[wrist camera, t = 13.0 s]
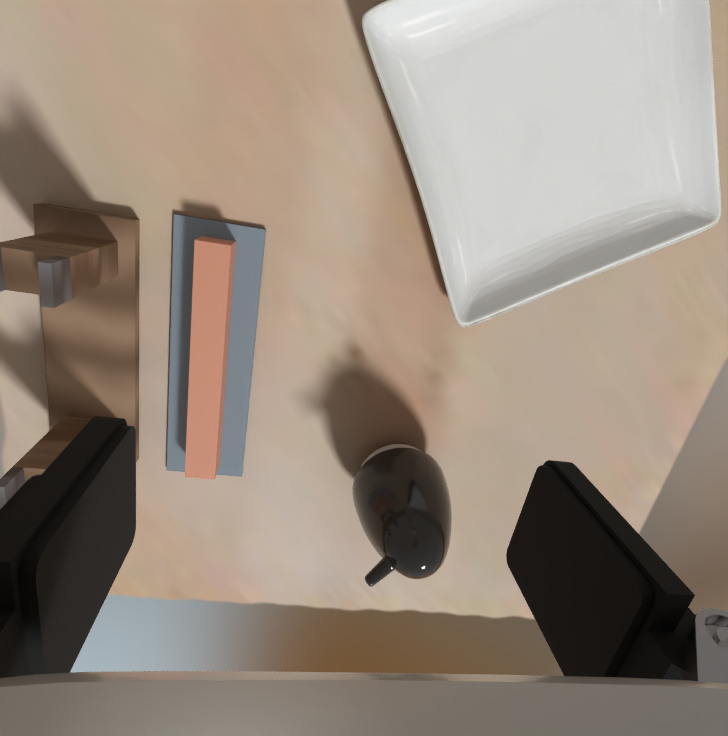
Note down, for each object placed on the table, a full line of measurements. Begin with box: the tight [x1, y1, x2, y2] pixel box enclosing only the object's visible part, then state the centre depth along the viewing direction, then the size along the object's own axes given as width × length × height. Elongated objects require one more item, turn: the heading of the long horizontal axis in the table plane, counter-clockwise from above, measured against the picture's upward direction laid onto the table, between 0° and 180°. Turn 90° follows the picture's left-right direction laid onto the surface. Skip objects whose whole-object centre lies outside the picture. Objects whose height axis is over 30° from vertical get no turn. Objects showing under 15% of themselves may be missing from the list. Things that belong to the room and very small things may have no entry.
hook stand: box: [0, 203, 139, 509], centre depth 39 cm, size 25×8×13 cm, turn 170°
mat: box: [167, 214, 266, 477], centre depth 47 cm, size 27×8×1 cm, turn 170°
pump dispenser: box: [353, 444, 452, 587], centre depth 47 cm, size 10×10×15 cm
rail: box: [185, 236, 236, 479], centre depth 45 cm, size 24×3×3 cm, turn 170°
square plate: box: [362, 0, 721, 327], centre depth 41 cm, size 27×27×4 cm
